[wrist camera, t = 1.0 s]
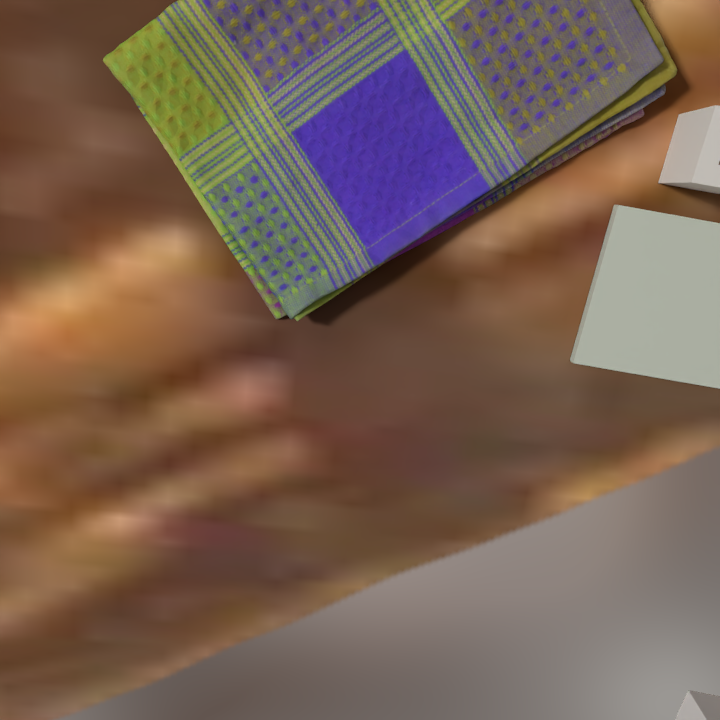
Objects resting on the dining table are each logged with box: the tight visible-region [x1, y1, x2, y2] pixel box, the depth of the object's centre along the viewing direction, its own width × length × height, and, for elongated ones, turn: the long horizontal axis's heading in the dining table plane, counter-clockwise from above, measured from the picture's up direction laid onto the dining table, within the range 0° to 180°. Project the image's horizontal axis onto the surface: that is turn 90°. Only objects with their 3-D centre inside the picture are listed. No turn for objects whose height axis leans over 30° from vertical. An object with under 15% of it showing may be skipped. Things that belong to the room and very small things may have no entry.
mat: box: [570, 205, 720, 389], centre depth 33 cm, size 9×9×1 cm
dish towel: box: [103, 0, 677, 321], centre depth 30 cm, size 18×24×3 cm
